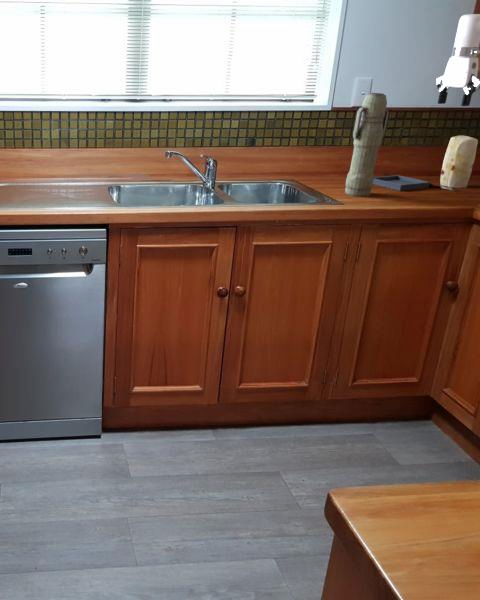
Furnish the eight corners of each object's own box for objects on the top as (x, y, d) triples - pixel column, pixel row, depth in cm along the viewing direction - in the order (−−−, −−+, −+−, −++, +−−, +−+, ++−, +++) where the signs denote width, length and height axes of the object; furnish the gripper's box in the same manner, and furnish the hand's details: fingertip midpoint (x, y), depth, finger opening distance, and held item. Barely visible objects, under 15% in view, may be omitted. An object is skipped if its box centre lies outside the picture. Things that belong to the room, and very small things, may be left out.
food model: (465, 189, 232) (479, 136, 224) (466, 193, 226) (481, 138, 219) (436, 187, 236) (449, 134, 228) (437, 190, 230) (450, 136, 223)
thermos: (379, 195, 221) (400, 94, 207) (353, 197, 217) (373, 94, 203) (360, 190, 228) (380, 92, 215) (335, 192, 224) (353, 92, 211)
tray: (428, 188, 234) (430, 182, 233) (399, 191, 228) (401, 185, 227) (396, 180, 246) (397, 175, 245) (368, 183, 240) (369, 177, 239)
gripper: (495, 53, 205) (482, 106, 212) (450, 53, 220) (440, 102, 227) (479, 53, 203) (466, 107, 209) (435, 53, 218) (424, 103, 224)
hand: (453, 104), depth 218 cm, fingers open, 9 cm apart
